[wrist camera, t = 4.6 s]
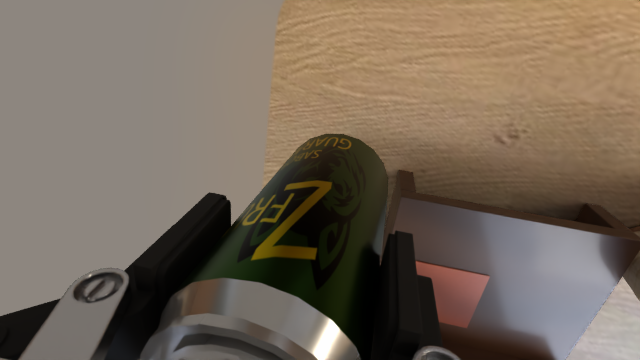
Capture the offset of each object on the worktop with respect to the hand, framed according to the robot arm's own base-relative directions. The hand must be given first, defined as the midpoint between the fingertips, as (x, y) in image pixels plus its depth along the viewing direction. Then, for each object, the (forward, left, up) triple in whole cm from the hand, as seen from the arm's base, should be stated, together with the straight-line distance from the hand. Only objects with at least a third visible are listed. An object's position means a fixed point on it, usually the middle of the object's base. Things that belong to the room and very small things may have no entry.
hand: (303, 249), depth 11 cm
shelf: (+10, +13, -17) cm, 24 cm away
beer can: (0, 0, -7) cm, 7 cm away
